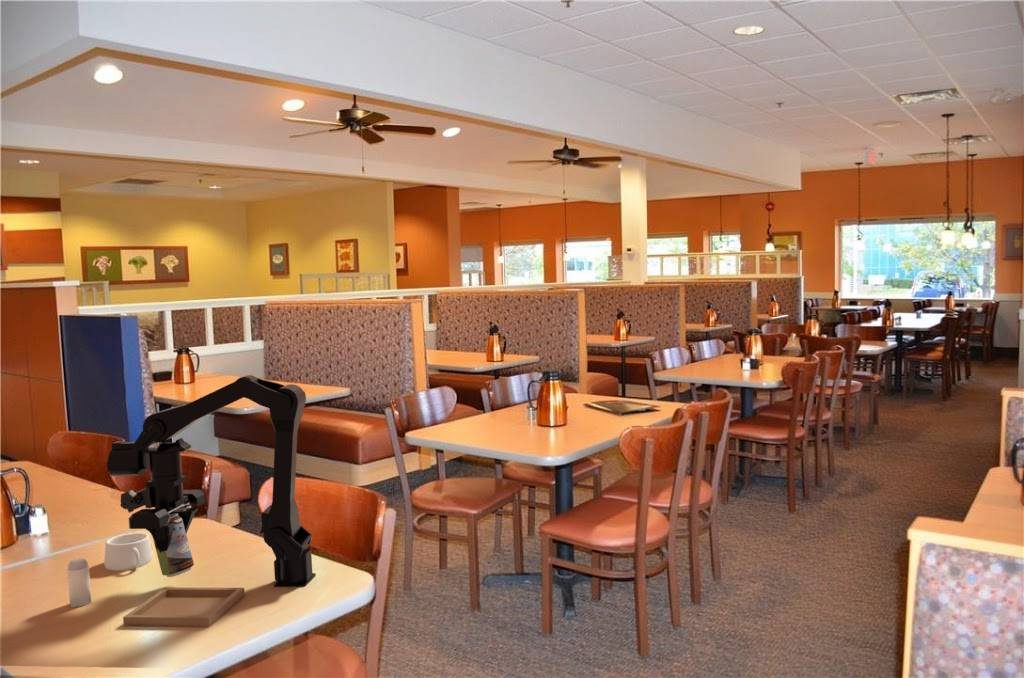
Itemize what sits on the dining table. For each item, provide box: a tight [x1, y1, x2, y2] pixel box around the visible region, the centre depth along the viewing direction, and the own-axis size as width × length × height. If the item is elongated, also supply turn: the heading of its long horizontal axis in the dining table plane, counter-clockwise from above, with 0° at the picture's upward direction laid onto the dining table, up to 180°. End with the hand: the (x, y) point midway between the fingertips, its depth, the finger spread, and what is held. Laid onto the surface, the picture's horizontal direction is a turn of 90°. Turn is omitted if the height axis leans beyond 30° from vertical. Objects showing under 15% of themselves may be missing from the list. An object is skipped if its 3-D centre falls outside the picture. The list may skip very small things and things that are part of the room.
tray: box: [122, 586, 246, 628], centre depth 149 cm, size 16×14×2 cm
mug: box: [103, 532, 154, 572], centre depth 175 cm, size 12×10×6 cm
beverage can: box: [152, 513, 195, 578], centre depth 161 cm, size 6×7×12 cm
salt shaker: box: [67, 556, 92, 608], centre depth 154 cm, size 4×4×9 cm
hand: (171, 550), depth 161 cm, fingers closed on beverage can, 5 cm apart
